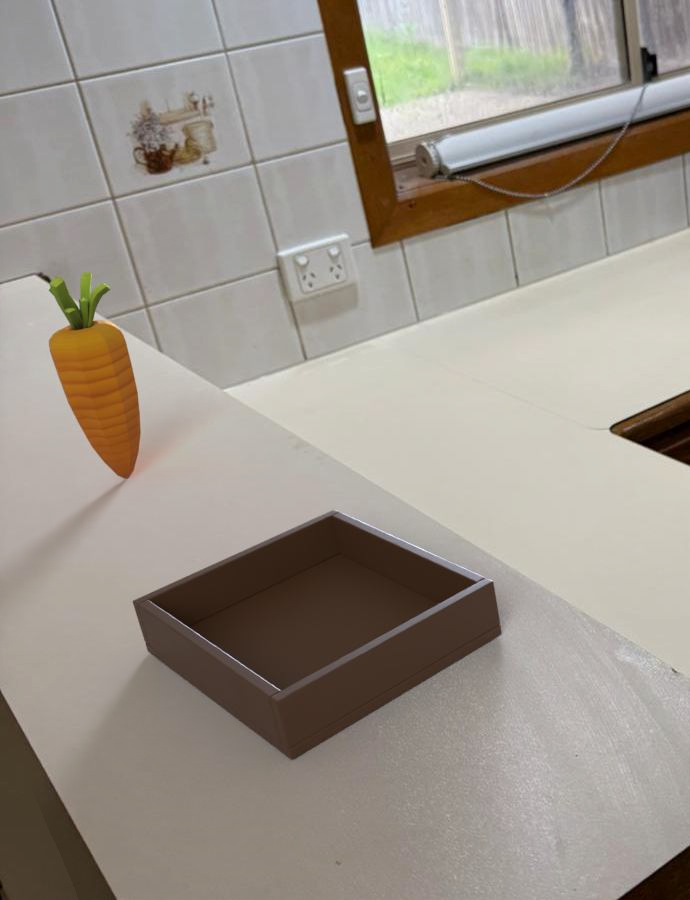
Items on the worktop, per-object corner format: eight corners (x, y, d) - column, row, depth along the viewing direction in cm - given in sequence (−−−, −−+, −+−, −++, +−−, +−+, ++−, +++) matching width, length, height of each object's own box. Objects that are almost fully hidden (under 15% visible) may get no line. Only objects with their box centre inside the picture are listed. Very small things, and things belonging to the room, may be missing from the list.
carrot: (136, 458, 84) (79, 260, 78) (177, 469, 82) (121, 265, 76) (75, 485, 81) (11, 280, 75) (115, 498, 78) (52, 286, 72)
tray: (147, 651, 59) (131, 600, 58) (344, 555, 67) (334, 508, 65) (291, 760, 50) (276, 702, 48) (502, 634, 57) (493, 580, 56)
